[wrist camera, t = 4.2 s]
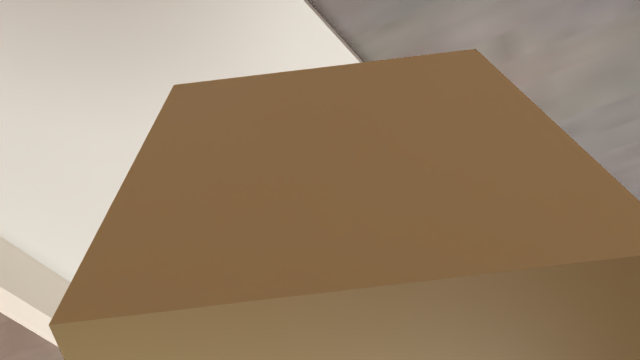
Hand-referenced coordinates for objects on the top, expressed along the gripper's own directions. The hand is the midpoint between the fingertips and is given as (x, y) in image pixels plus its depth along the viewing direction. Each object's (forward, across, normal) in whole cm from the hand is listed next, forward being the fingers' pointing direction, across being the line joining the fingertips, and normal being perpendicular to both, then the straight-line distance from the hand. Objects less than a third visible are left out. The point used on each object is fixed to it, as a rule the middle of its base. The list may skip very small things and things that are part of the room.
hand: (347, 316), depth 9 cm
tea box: (+1, 0, 0) cm, 1 cm away
